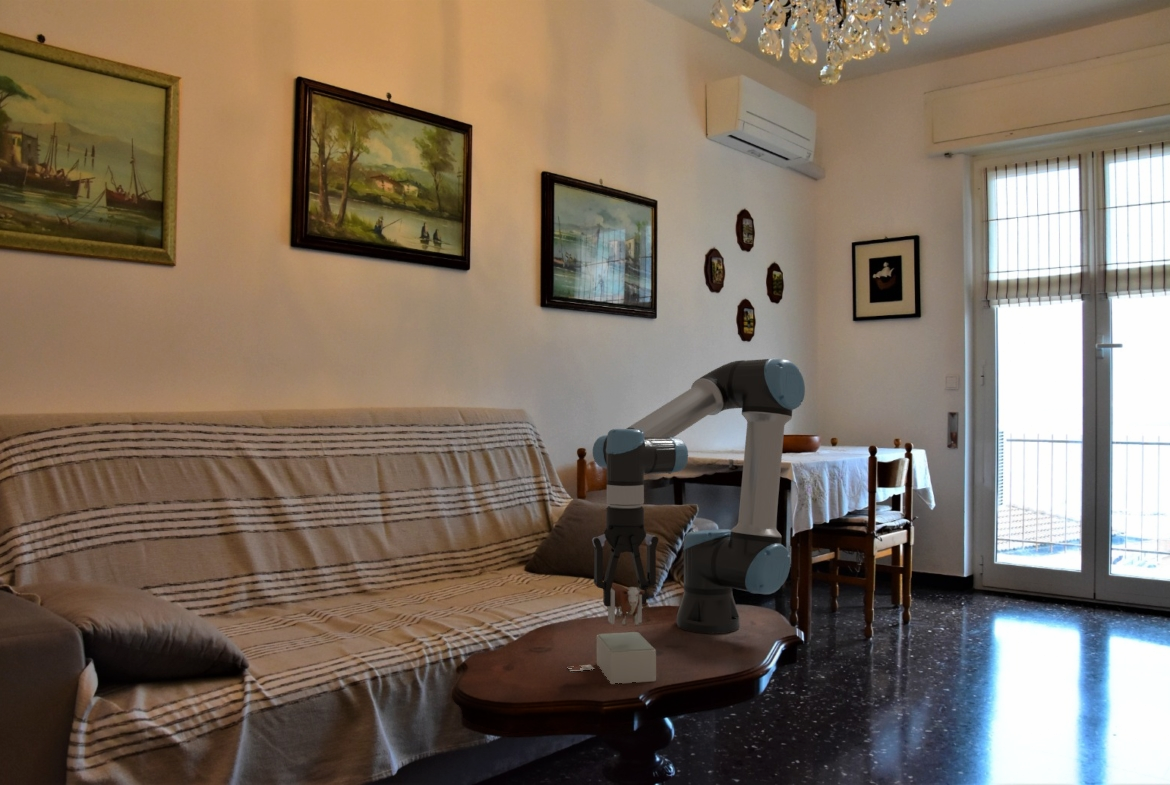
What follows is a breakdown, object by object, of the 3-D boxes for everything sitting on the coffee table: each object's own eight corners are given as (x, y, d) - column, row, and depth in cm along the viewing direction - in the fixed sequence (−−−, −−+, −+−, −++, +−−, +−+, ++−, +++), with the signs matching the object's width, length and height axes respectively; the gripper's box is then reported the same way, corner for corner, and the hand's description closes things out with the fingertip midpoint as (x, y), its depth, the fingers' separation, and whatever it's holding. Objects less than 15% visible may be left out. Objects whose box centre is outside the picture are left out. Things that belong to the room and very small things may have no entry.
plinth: (638, 661, 183) (638, 631, 183) (656, 681, 170) (655, 648, 170) (596, 664, 181) (596, 633, 181) (611, 684, 168) (610, 651, 168)
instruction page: (590, 665, 180) (590, 664, 180) (595, 669, 177) (595, 668, 177) (567, 668, 179) (567, 667, 179) (571, 672, 176) (571, 671, 176)
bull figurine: (628, 632, 169) (628, 590, 169) (601, 616, 181) (602, 577, 181) (649, 630, 170) (649, 588, 170) (621, 614, 183) (621, 575, 183)
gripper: (662, 502, 181) (662, 615, 181) (577, 504, 178) (577, 619, 178) (673, 506, 174) (673, 624, 174) (585, 508, 171) (585, 628, 170)
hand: (624, 621), depth 176 cm, fingers closed on bull figurine, 5 cm apart
